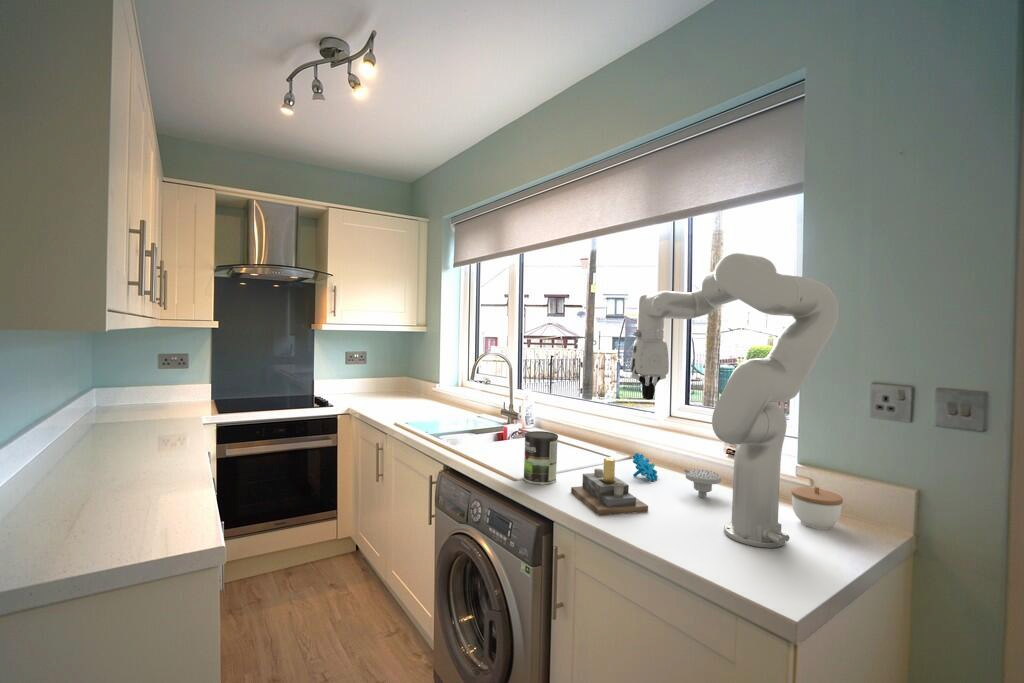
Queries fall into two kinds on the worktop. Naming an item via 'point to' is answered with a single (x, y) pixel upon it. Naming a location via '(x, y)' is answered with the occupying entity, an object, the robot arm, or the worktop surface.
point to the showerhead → (703, 480)
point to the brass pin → (609, 471)
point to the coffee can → (540, 457)
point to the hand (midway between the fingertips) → (648, 398)
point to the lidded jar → (816, 506)
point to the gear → (644, 467)
